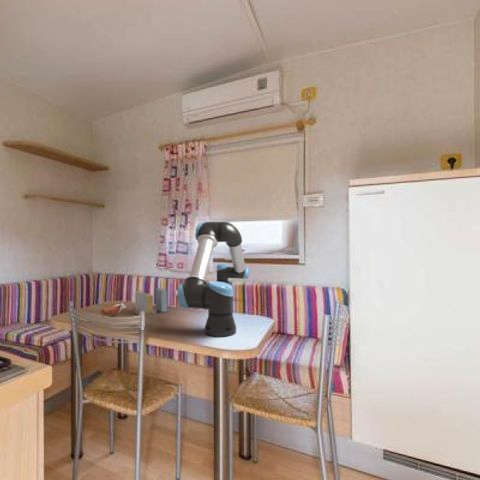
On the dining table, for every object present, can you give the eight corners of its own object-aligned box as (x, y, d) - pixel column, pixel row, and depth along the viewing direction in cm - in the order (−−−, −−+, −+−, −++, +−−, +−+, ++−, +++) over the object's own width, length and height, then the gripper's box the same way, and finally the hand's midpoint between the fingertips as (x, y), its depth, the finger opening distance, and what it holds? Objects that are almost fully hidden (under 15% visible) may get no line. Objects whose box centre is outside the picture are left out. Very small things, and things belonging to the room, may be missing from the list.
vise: (162, 309, 181) (162, 288, 180) (169, 313, 172) (169, 291, 171) (134, 313, 171) (134, 291, 171) (139, 318, 162) (139, 294, 162)
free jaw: (160, 307, 179) (160, 288, 179) (166, 311, 171) (166, 290, 171) (155, 308, 178) (155, 288, 177) (161, 311, 169) (161, 291, 169)
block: (148, 310, 174) (148, 293, 174) (152, 313, 168) (152, 295, 167) (141, 311, 172) (141, 294, 172) (145, 314, 165) (145, 296, 165)
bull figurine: (126, 317, 163) (126, 303, 163) (102, 323, 153) (102, 307, 153) (123, 316, 166) (123, 301, 166) (98, 321, 156) (98, 306, 156)
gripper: (214, 296, 188) (179, 301, 174) (204, 292, 198) (171, 296, 185) (214, 284, 187) (179, 288, 174) (204, 281, 198) (171, 285, 185)
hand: (175, 292), depth 180 cm, fingers closed
